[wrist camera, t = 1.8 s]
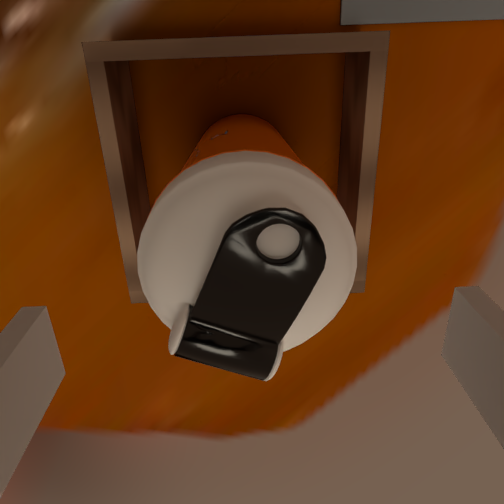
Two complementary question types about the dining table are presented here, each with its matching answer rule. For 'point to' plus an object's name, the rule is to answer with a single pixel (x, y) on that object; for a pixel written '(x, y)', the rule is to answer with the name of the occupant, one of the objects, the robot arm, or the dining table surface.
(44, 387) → the robot arm
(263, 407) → the dining table surface
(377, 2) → the slate board
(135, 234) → the square wooden frame
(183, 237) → the shaker bottle
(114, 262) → the dining table surface
